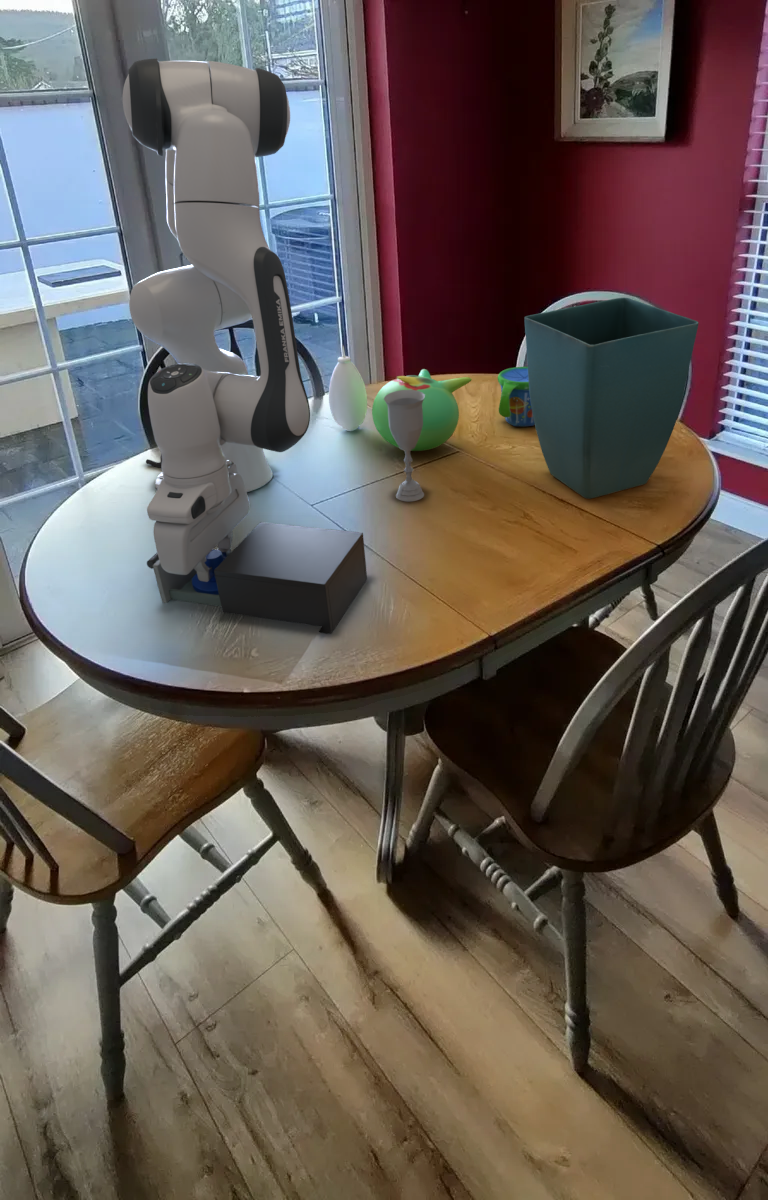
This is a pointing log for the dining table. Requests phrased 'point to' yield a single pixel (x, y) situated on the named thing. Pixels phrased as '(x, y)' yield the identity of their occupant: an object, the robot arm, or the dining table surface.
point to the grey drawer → (179, 586)
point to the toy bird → (423, 408)
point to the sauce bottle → (347, 394)
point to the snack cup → (515, 397)
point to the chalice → (406, 434)
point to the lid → (212, 561)
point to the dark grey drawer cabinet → (293, 574)
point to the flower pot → (606, 390)
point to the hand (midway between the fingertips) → (215, 569)
